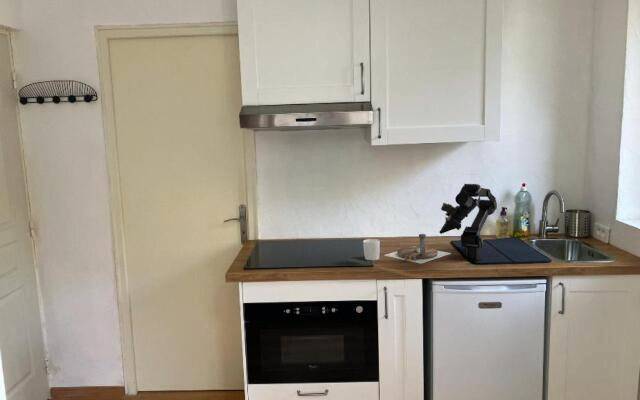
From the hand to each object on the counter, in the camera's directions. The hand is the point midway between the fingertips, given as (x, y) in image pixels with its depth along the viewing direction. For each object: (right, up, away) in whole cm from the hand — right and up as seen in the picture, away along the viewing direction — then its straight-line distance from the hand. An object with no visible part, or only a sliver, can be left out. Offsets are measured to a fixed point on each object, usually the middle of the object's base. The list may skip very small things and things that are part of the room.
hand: (440, 233), depth 232 cm
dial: (-8, -11, +11) cm, 18 cm away
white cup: (-30, -14, +9) cm, 35 cm away
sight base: (-8, -12, +11) cm, 19 cm away
